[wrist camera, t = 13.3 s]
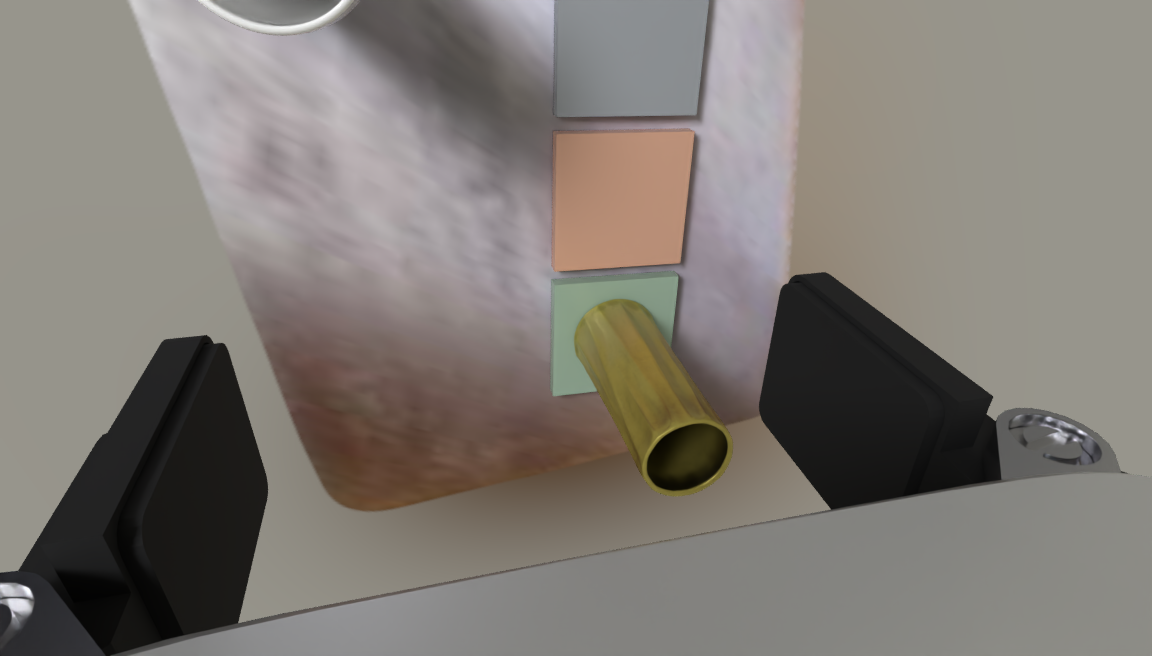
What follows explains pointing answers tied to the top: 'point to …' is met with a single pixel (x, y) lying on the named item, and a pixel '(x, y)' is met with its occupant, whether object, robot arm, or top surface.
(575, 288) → the green coaster
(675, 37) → the grey coaster
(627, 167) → the terracotta coaster
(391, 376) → the top surface
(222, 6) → the drinking glass
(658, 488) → the vase
